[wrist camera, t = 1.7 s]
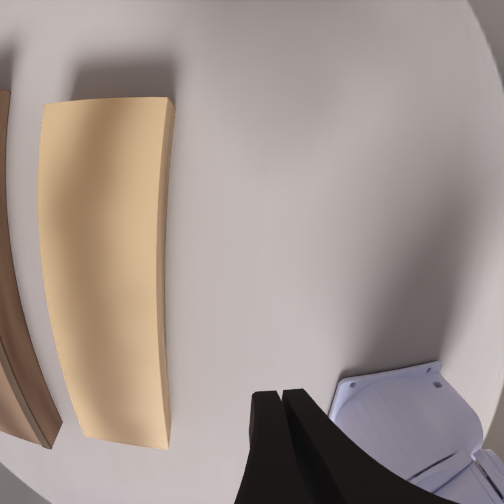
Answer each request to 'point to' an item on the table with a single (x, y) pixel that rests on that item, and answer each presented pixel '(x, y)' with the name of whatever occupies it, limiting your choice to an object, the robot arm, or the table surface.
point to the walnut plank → (19, 341)
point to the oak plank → (108, 260)
